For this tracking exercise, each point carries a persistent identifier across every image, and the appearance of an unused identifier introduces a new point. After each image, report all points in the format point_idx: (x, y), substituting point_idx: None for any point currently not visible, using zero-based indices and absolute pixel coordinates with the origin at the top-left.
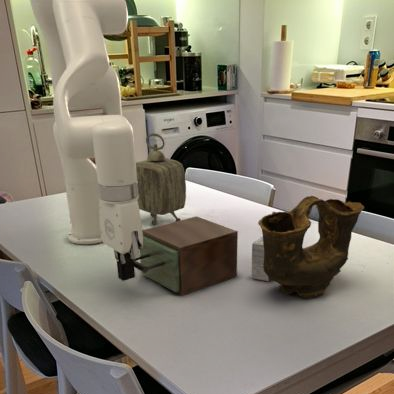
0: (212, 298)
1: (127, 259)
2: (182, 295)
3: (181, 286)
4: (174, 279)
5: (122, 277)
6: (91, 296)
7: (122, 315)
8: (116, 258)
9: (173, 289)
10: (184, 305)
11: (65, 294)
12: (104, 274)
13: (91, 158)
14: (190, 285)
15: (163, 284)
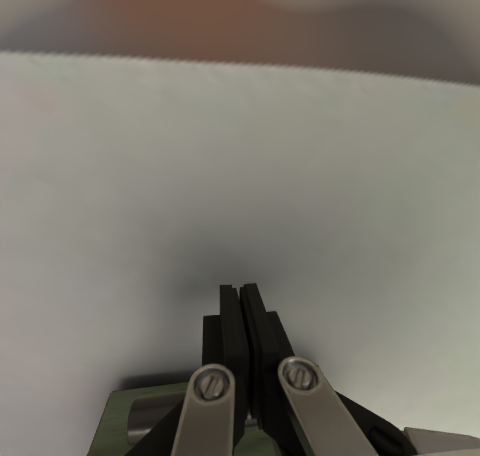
0: (42, 446)
1: (152, 434)
2: (110, 394)
3: (98, 427)
4: (94, 445)
5: (220, 296)
6: (307, 157)
7: (71, 171)
8: (306, 367)
9: (121, 396)
10: (36, 373)
11: (398, 78)
12: (417, 276)
13: None
14: None
15: (186, 385)
